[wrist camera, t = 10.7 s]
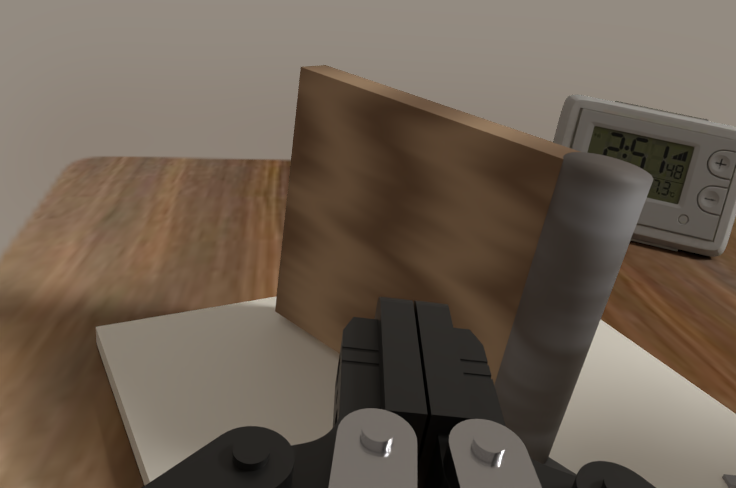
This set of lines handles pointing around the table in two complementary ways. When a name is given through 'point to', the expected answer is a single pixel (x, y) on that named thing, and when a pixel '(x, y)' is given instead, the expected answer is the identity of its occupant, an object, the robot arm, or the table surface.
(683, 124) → the digital clock
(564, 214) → the wooden board with post
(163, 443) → the thin white panel
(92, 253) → the table surface
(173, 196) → the table surface
